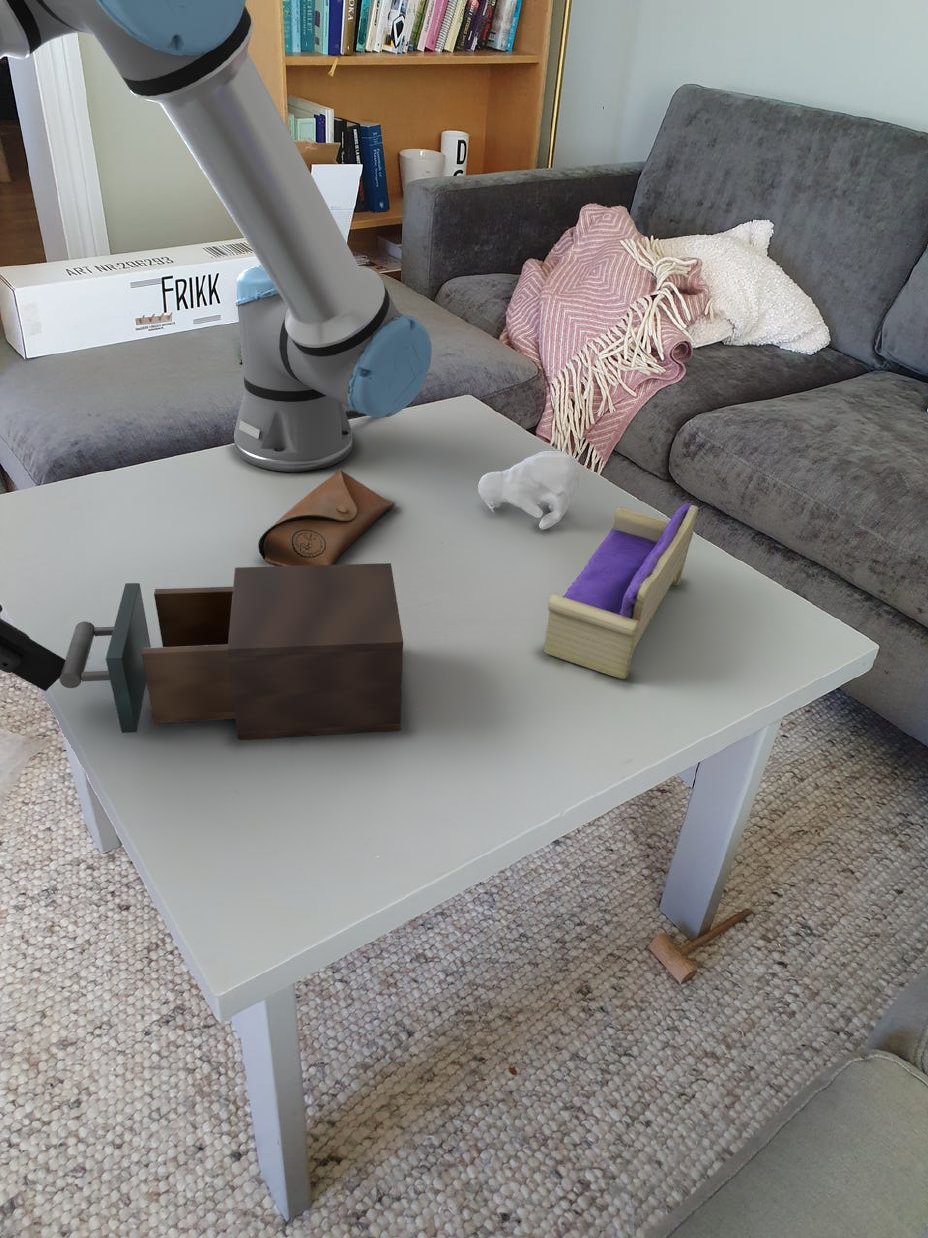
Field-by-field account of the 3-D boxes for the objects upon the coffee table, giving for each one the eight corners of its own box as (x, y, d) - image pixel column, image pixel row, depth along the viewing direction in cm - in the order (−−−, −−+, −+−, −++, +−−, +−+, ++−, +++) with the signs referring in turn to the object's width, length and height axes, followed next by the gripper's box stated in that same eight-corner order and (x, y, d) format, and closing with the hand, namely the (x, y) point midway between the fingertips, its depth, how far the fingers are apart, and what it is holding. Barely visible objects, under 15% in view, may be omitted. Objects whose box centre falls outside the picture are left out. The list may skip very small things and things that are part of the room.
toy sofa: (608, 557, 103) (623, 476, 97) (683, 579, 100) (703, 497, 94) (537, 657, 88) (550, 567, 82) (624, 687, 85) (644, 596, 79)
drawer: (65, 736, 74) (46, 661, 69) (88, 656, 82) (72, 584, 78) (277, 725, 76) (271, 651, 72) (279, 648, 85) (274, 578, 80)
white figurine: (573, 468, 101) (469, 456, 104) (570, 535, 106) (471, 522, 109) (585, 445, 106) (486, 435, 109) (581, 511, 111) (487, 499, 114)
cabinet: (237, 740, 76) (227, 649, 70) (243, 653, 85) (234, 567, 80) (400, 730, 78) (403, 642, 73) (389, 647, 87) (391, 562, 82)
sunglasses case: (329, 575, 96) (297, 520, 93) (279, 590, 99) (248, 537, 97) (399, 501, 110) (373, 451, 107) (353, 516, 113) (327, 468, 111)
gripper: (-227, 493, 70) (46, 654, 83) (-317, 589, 60) (11, 756, 73) (-176, 429, 68) (98, 604, 81) (-260, 517, 58) (68, 702, 70)
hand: (56, 676), depth 77 cm, fingers closed
